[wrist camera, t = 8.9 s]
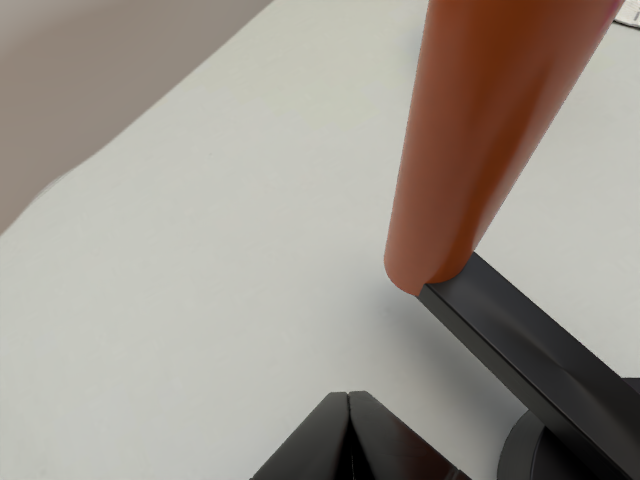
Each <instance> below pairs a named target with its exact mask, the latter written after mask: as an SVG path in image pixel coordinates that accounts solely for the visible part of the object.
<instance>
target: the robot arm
mask: <svg viewBox="0 0 640 480" xmlns="http://www.w3.org/2000/svg"><path fill="white" fill-rule="evenodd" d="M348 401H349V403H348ZM352 462H353V464H352ZM353 477H354V480H472V479H471V478H470V477H468V476H467V475H466V474H465V473H464V472H462V471H461V470H458V469H457V467H455V466H454V465H453V464H452V463H451V462H450V461H448V460H447V459H446V458H445V457H444V456H443V455H441V454H440V453H439V452H438V451H437V450H435V449H434V448H433V447H432V446H431V445H430V444H428V443H427V442H426V441H425V440H424V439H422V438H421V437H420V436H419V435H418V434H417V433H415V432H414V431H413V430H412V429H411V428H409V427H408V426H407V425H406V424H405V423H404V422H402V421H401V420H400V419H399V418H398V417H397V416H395V415H394V414H393V413H392V412H391V411H389V410H388V409H387V408H386V407H385V406H384V405H382V404H381V403H380V402H379V401H378V400H376V399H375V398H374V397H373V396H372V395H371V394H369V393H368V392H367V391H352V392H349V394H347V393H346V392H331V393H329V394H328V395H327V396H326V397H325V398H324V399H323V400H322V401H321V402H320V403H319V405H318V406H317V407H316V408H315V409H314V410H313V411H312V412H311V413H310V414H309V416H308V417H307V418H306V419H305V420H304V421H303V422H302V423H301V424H300V425H299V426H298V428H297V429H296V430H295V431H294V432H293V433H292V434H291V435H290V436H289V437H288V438H287V440H286V441H285V442H284V443H283V444H282V445H281V446H280V447H279V448H278V449H277V451H276V452H275V453H274V454H273V455H272V456H271V457H270V458H269V459H268V460H267V461H266V463H265V464H264V465H263V466H262V467H261V468H260V469H259V470H258V471H257V472H256V474H255V475H254V476H253V478H250V479H249V480H353Z"/></svg>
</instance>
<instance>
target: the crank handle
mask: <svg viewBox="0 0 640 480" xmlns="http://www.w3.org/2000/svg"><path fill="white" fill-rule="evenodd" d="M625 1H626V0H429V3H428V8H427V14H426V20H425V25H424V31H423V37H422V43H421V48H420V54H419V60H418V65H417V71H416V77H415V82H414V88H413V94H412V100H411V105H410V111H409V117H408V122H407V128H406V134H405V140H404V145H403V151H402V157H401V162H400V168H399V174H398V179H397V185H396V191H395V197H394V202H393V208H392V214H391V219H390V225H389V231H388V237H387V242H386V248H385V254H384V266H385V270H386V273H387V275H388V277H389V278H390V279H391V281H392V282H393V283H394V284H395V285H396V286H397V287H398V288H400V289H401V290H403V291H404V292H406V293H409V294H411V295H414V296H415V297H416V298H417V299H418V300H419V301H420V302H421V303H422V304H423V305H424V306H425V307H426V308H427V309H428V310H429V311H430V312H431V313H432V314H433V315H434V316H435V317H436V318H437V319H438V320H439V321H440V322H442V323H443V324H444V325H445V326H446V327H447V328H448V329H449V330H450V331H451V332H452V333H453V334H454V335H455V336H456V337H457V338H458V339H459V340H460V341H461V342H462V343H463V344H464V345H465V346H466V347H467V348H468V349H469V350H470V351H471V352H472V353H473V354H474V355H475V356H476V357H477V358H478V359H479V360H480V361H481V362H482V363H483V364H484V365H485V366H486V367H487V368H488V369H489V370H490V371H491V372H492V373H493V374H494V375H495V376H496V377H497V378H498V379H499V380H500V381H501V382H502V383H503V384H504V385H505V386H506V387H507V388H508V389H509V390H510V391H511V392H512V393H513V394H514V395H515V396H516V397H517V398H518V399H519V400H520V401H521V402H522V403H523V404H524V405H525V406H526V407H527V408H528V409H529V410H530V411H531V412H532V413H533V414H534V415H535V416H536V417H537V418H538V419H539V420H540V421H541V422H542V423H543V424H544V425H545V426H546V427H547V428H549V429H550V430H551V431H552V432H553V433H554V434H555V435H556V436H557V437H558V438H559V439H560V440H561V441H562V442H563V443H564V444H565V445H566V446H567V447H568V448H569V449H570V450H571V451H572V452H573V453H574V454H575V455H576V456H577V457H578V458H579V459H580V460H581V461H582V462H583V463H584V464H585V465H586V466H587V467H588V468H589V469H590V470H591V471H592V472H593V473H594V474H595V475H596V476H597V477H598V478H599V479H600V480H640V393H638V392H637V391H636V390H635V389H634V388H633V387H631V386H630V385H629V384H628V383H627V382H626V381H624V380H623V379H622V378H621V377H620V376H619V375H617V374H616V373H615V372H614V371H613V370H612V369H610V368H609V367H608V366H607V365H606V364H605V363H603V362H602V361H601V360H600V359H599V358H598V357H596V356H595V355H594V354H593V353H592V352H591V351H589V350H588V349H587V348H586V347H585V346H584V345H582V344H581V343H580V342H579V341H578V340H577V339H575V338H574V337H573V336H572V335H571V334H570V333H568V332H567V331H566V330H565V329H564V328H563V327H561V326H560V325H559V324H558V323H557V322H556V321H554V320H553V319H552V318H551V317H550V316H549V315H547V314H546V313H545V312H544V311H543V310H542V309H540V308H539V307H538V306H537V305H536V304H535V303H533V302H532V301H531V300H530V299H529V298H528V297H526V296H525V295H524V294H523V293H522V292H521V291H519V290H518V289H517V288H516V287H515V286H514V285H513V284H511V283H510V282H509V281H508V280H507V279H506V278H504V277H503V276H502V275H501V274H500V273H499V272H497V271H496V270H495V269H494V268H493V267H492V266H490V265H489V264H488V263H487V262H486V261H485V260H483V259H482V258H481V257H480V256H479V255H478V254H476V253H475V252H474V250H475V248H476V247H477V245H478V243H479V242H480V240H481V238H482V237H483V235H484V234H485V232H486V230H487V229H488V227H489V225H490V224H491V222H492V220H493V219H494V217H495V215H496V214H497V212H498V210H499V209H500V207H501V205H502V204H503V202H504V200H505V199H506V197H507V196H508V194H509V192H510V191H511V189H512V187H513V186H514V184H515V182H516V181H517V179H518V177H519V176H520V174H521V172H522V171H523V169H524V167H525V166H526V164H527V163H528V161H529V159H530V158H531V156H532V154H533V153H534V151H535V149H536V148H537V146H538V144H539V143H540V141H541V139H542V138H543V136H544V134H545V133H546V131H547V129H548V128H549V126H550V125H551V123H552V121H553V120H554V118H555V116H556V115H557V113H558V111H559V110H560V108H561V106H562V105H563V103H564V101H565V100H566V98H567V96H568V95H569V93H570V91H571V90H572V88H573V87H574V85H575V83H576V82H577V80H578V78H579V77H580V75H581V73H582V72H583V70H584V68H585V67H586V65H587V63H588V62H589V60H590V58H591V57H592V55H593V53H594V52H595V50H596V49H597V47H598V45H599V44H600V42H601V40H602V39H603V37H604V35H605V34H606V32H607V30H608V29H609V27H610V25H611V24H612V22H613V20H614V19H615V17H616V15H617V14H618V12H619V11H620V9H621V7H622V6H623V4H624V2H625Z"/></svg>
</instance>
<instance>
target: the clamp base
mask: <svg viewBox="0 0 640 480" xmlns="http://www.w3.org/2000/svg"><path fill="white" fill-rule="evenodd" d="M622 379H623V380H624V381H626V382H627V383H628V384H629V385H630V386H631V387H633V388H634V389H635V390H636V391H637V392H638V393H640V378H622ZM497 480H600V479H599V478H598V477H597V476H596V475H595V474H594V473H593V472H592V471H591V470H590V469H589V468H588V467H587V466H586V465H585V464H584V463H583V462H582V461H581V460H580V459H579V458H578V457H577V456H576V455H575V454H574V453H573V452H572V451H571V450H570V449H569V448H568V447H567V446H566V445H565V444H564V443H563V442H562V441H561V440H560V439H559V438H558V437H557V436H556V435H555V434H554V433H553V432H552V431H551V430H550V429H549V428H547V427H546V426H545V425H544V424H543V423H542V422H541V421H540V420H539V419H538V418H537V417H536V416H535V415H534V414H533V413H532V412H531V411H530V410H528V411H527V412H526V413H525V414H524V415H523V416H522V417H521V418H520V419H519V420H518V422H517V423H516V424H515V425H514V427H513V428H512V430H511V432H510V434H509V436H508V437H507V439H506V441H505V444H504V447H503V450H502V452H501V456H500V461H499V466H498V472H497Z"/></svg>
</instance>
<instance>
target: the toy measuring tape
mask: <svg viewBox="0 0 640 480" xmlns="http://www.w3.org/2000/svg"><path fill="white" fill-rule="evenodd" d="M614 20H615V21H617V22H619V23H623V24H626V25H628V26H635V27H640V0H626V1H625V2H624V4H623V6H622V7H621V9H620V11H619V12H618V14H617V15H616V17H615V19H614Z"/></svg>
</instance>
